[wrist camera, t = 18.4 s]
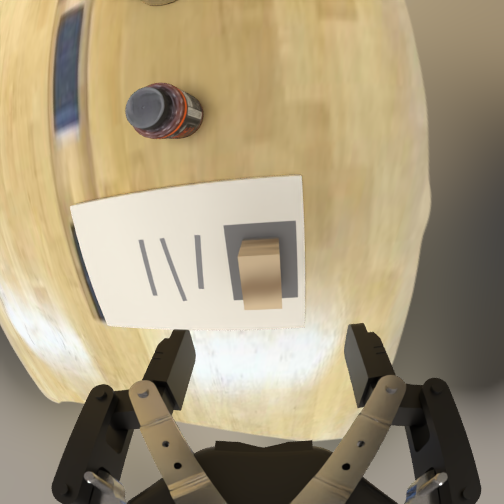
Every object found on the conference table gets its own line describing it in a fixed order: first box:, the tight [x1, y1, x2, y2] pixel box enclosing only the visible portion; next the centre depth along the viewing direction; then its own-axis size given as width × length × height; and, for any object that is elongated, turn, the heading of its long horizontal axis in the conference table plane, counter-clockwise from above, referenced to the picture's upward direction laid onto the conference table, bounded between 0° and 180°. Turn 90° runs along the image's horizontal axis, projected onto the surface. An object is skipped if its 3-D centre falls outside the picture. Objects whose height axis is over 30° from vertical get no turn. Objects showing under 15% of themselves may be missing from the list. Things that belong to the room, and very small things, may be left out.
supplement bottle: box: [126, 83, 203, 139], centre depth 25 cm, size 6×6×11 cm
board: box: [70, 174, 305, 330], centre depth 38 cm, size 22×34×2 cm, turn 95°
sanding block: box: [238, 237, 282, 310], centre depth 33 cm, size 7×4×6 cm, turn 5°
